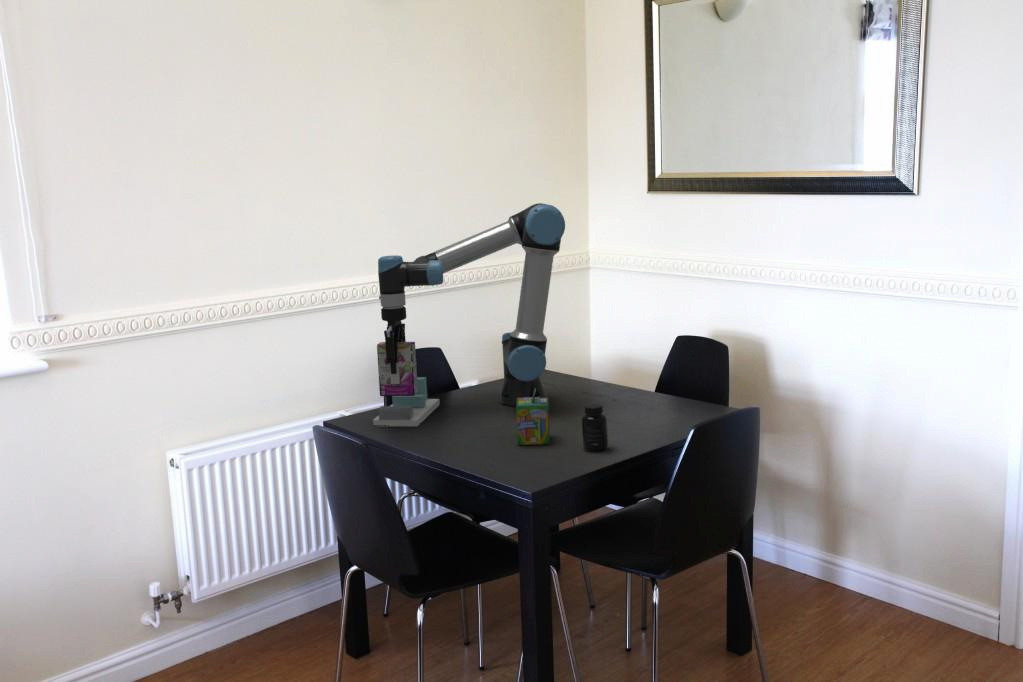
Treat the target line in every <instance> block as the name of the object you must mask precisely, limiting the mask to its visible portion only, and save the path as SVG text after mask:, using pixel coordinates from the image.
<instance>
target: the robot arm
mask: <svg viewBox="0 0 1023 682" xmlns="http://www.w3.org/2000/svg"><path fill="white" fill-rule="evenodd" d="M565 230H566V220H565V217H564V215H563V213H562V212H561V210H560V209H558V208H557V207H556V206H554V205H551V204H548V203H542V202H540V203H539V202H538V203H535V204H534V203H533V204H531V205H530V206H528V207H526V208H525V209H523V210H521V211H519V212H517V213H515V214H513V215H510V216H509V217H508V220H507V221H504V222H502V223H500V224H497V225H495V226H493V227H490V228H488V229H485V230H483V231H480V232H479V233H476V234H473V235H471V236H469V237H465V238H464V239H461V240H459V241H457V242H455V243H452V244H450V245H447V246H445V247H442V248H440V249H438V250H435V251H434V252H430V253H428V254H426V255H420V256H418V257H417V258H415V259H414V260H413V261H404V259H403V257H402V256H401V255H397V254H396V255H385V256H381V257H379V258H378V260H377V267H378V268H377V269H378V273H377V274H378V284H379V285H378V286H379V294H380V295H379V297H378V299H379V300H380V306H381V307H382V308H381V309H380V312H381V313H380V314H381V320H382V321H383V322H387V325H386V326H387V327H386V330H384V332H383V334H384V340H385V341H384V342H385V344H386V363H389V365H390V379H391V384H400V375H399V363H397V352H398V347H397V345H398V342H407V341H406V323H404V322H402V321H404V320H406V319H407V308H406V303H407V301H406V292H405V287H406V288H407V287H424V286H425V287H427V286H431V287H433V286H439V285H443V284H444V274H446V273H448V272H450V271H453V270H455V269H459V268H460V267H463V266H465V265H468V264H470V263H472V262H475V261H477V260H479V259H482V258H485V257H487V256H490V255H492V254H494V253H497V252H498V251H499V252H500V251H502V250H504V249H506V248H508V247H512V246H513V245H516V244H518V245H521V248H522V250H524V252H525V257H524V264H523V270H522V278H521V279H522V280H521V286H520V291H519V292H520V294H519V301H518V302H519V303H518V308H517V316H516V323H515V324H516V325H515V329H514V330H513V331H512V332H511V331H510V332H504V333H503V334H502V336H501V344H502V346H501V347H502V362H503V382H502V385H501V389H500V394H499V402H501V403H500V404H501V405H504V404H505V406H510V407H511V406H512V407H516V404H517V398H526V397H533V393H534V389H535V388H536V393H535V397H547V395H546V390H545V387H544V385H543V382H542V379H541V375H543V374H544V372H545V370H546V368H547V367H546V366H547V358H546V349H547V343H548V338H547V336H546V335H545V334H544V328H545V322H546V314H547V307H548V299H549V293H550V292H549V291H550V284H551V278H552V271H553V263H554V257H555V256H556V254H557V255H558V253H559V252H560V249H561V248H560V247H561V242H562V237H563V236H564V233H565ZM391 358H392V359H391Z"/></svg>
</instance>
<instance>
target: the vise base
mask: <svg viewBox="0 0 1023 682" xmlns="http://www.w3.org/2000/svg"><path fill="white" fill-rule="evenodd" d="M425 402H426V405H425V406H424V407H413V406H393V403H392V404H390V405H388V406H387V405H384V406H383V405H382V406H380V407H379V408H378V411H377V412H378V415H377V416H376V417H375V418H373V419H372V424H373V425H382V426H381V427H384V426H383V425H386V426H385V427H418V426H420V425H421V424H422V422H424V421H425V420H426V419H427V418H428V417H429V416H430V415H431V414H432V413H433V412H434V411H435V410H436V409H437V408H439V406H440V404H441V403H440V398H427V399H426V400H425ZM420 423H421V424H420ZM388 425H389V426H388Z"/></svg>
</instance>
